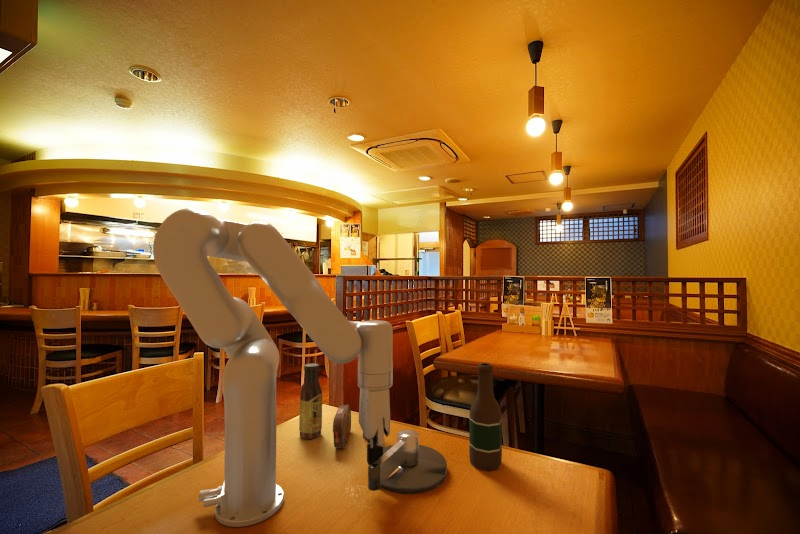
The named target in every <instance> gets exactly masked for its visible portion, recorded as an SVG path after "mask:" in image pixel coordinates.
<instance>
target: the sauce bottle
mask: <svg viewBox="0 0 800 534" xmlns="http://www.w3.org/2000/svg"><path fill="white" fill-rule="evenodd" d="M303 369H304V383H303V384H302V385H301V387H300V391H299V395H300V396H299V397H300V398H299V419H298V421H299V422H298V427H299V430H298V431H299V437H300V438H301V439H303V440H312V439H316V438H319V437H320V436H321V434H322V429H323V390H322V386H321V384H320V381H319V379H320V378H319V370H320V365H319V364H318V363H306V364H305V365H304V368H303Z"/></svg>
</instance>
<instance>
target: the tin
mask: <svg viewBox="0 0 800 534" xmlns="http://www.w3.org/2000/svg"><path fill="white" fill-rule="evenodd" d="M351 429H352V411H351V406H350V404H342V405H341V404H340V405H339V407H338V408H337V411H336V413H335V415H334V417H333V422H332V432H333V445H334V446H333V447H334V448H335V449H346V447H347V445H348V442H349V438H350V436H351V435H350V434H351Z"/></svg>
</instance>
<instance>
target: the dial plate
mask: <svg viewBox="0 0 800 534" xmlns="http://www.w3.org/2000/svg"><path fill="white" fill-rule="evenodd" d="M394 445H395V444H392V445H388V446H385V447H383V454H385V453H386V452H387V451H388V450H389V449H390V448H391V447H393V446H394ZM447 463H448V462H447V460H446V458H445V457H444V455H443V454H442V453H440V451H438V450H436V449H434V448H432V447H429V446H427V445H424V444H423V445H422V444H419V462H418V463H417V464H415V465H413V466H404V465H400V466H399V467H398V468H397V469H396V470H395V471H394V472H393V473H392V474H391V475H390V476H389V477H388V478H387V479H386V480H385V481H384V482H383V483H382V484H381V485H380V489H383V490H385V491H387V492H391V493H395V494H399V495H418V494H423V493H428V492H430V491H433V490H435V489H437V488H438V487H440V486H441V485H442V484H443V483H444V482H445V480H446V478H447V472H448V471H447V468H448V467H447Z"/></svg>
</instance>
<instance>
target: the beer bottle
mask: <svg viewBox="0 0 800 534" xmlns="http://www.w3.org/2000/svg"><path fill="white" fill-rule="evenodd" d="M477 370H478V378H477V392H476V397H475V399H474V400H473V402H472V403H471V407H470V408H469V418H468V419H469V420H468V421H469V425H468V427H469V430H468V431H469V433H468V434H469V437H468V439H469V441H468V442H469V445H468V446H469V448H468V449H469V451H468V452H469V454H468V455H469V462H470V464H471V465H472V466H473V467H474V468H475V469H476V470H481V471H483V472H493V471H498V470H499V469H500V467H501V465H502V461H503V460H502V459H503V458H502V457H503V449H502V448H503V426H502V424H503V423H502V422H503V421H502V419H503V416H502V409H501V407H500V406H501V405H500V403H498V401H497V399H496V398H495V394H494V381H493V370H494V366H493V364H490V363H487V362H486V363H485V362H481V363H479V364H478V365H477Z"/></svg>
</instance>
